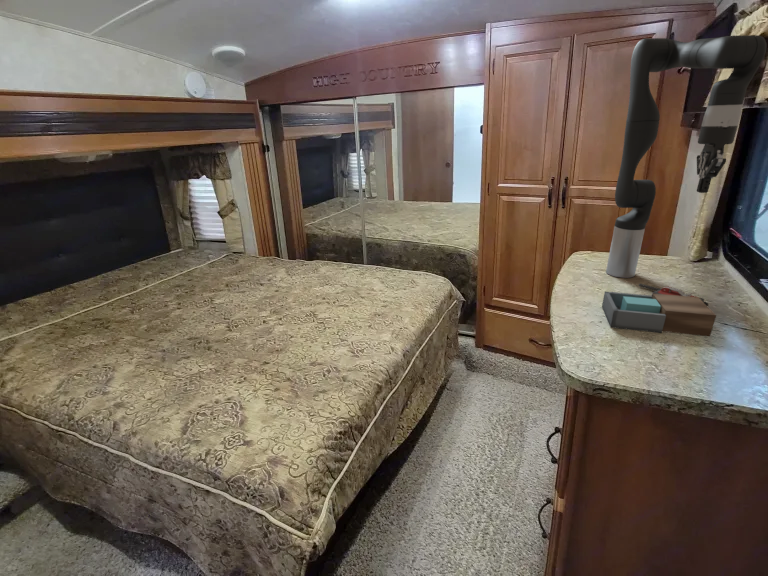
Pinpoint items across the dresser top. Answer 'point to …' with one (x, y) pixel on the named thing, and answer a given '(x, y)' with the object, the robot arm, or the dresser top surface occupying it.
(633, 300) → the block
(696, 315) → the brown box
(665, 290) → the walkie-talkie
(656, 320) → the box
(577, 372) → the dresser top surface
